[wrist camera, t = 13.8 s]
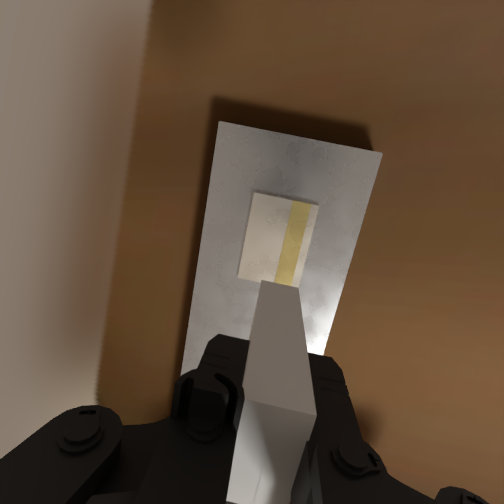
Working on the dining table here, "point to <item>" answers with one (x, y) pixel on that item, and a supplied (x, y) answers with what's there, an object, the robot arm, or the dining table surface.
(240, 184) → the plate
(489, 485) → the dining table surface
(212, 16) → the dining table surface
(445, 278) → the dining table surface
